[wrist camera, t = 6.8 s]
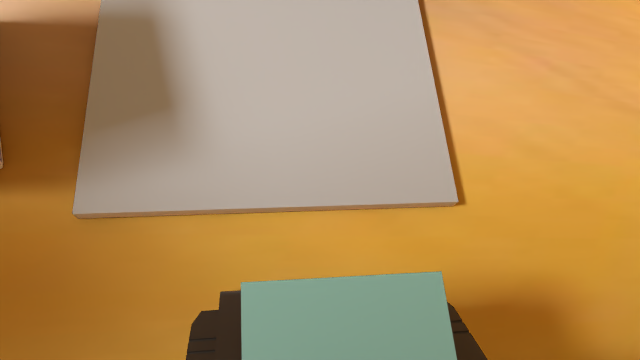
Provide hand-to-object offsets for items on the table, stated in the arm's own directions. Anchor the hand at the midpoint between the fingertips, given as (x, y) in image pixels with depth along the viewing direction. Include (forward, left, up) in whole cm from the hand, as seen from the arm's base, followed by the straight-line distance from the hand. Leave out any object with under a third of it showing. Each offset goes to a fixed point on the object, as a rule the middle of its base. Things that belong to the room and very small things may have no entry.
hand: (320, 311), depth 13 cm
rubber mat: (-1, +12, -5) cm, 13 cm away
